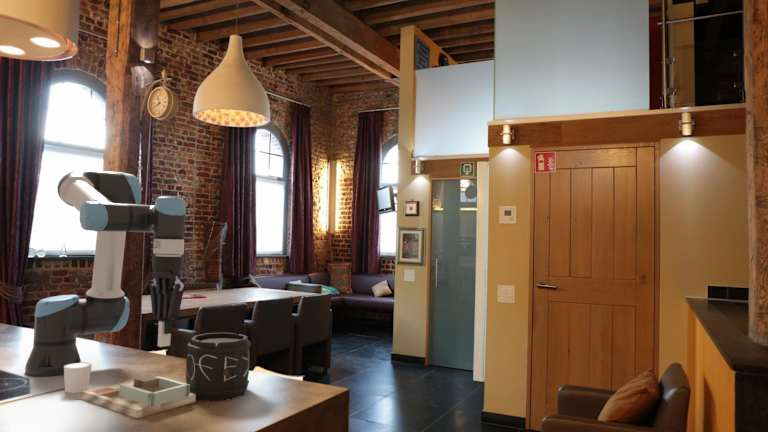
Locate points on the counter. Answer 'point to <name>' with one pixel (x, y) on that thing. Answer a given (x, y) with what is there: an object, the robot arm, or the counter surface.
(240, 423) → the counter surface
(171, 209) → the robot arm
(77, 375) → the shot glass
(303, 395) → the counter surface
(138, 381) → the block
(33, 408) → the counter surface
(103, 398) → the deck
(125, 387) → the cubby
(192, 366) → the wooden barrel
